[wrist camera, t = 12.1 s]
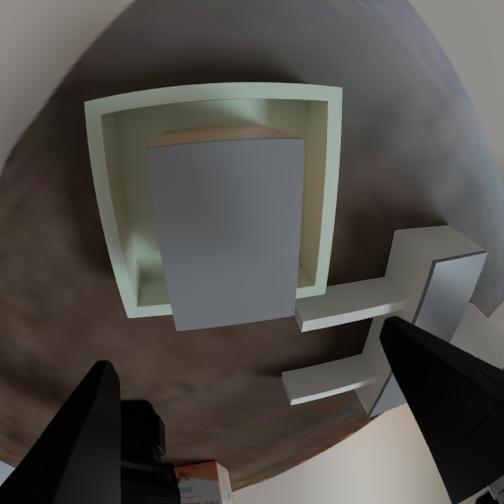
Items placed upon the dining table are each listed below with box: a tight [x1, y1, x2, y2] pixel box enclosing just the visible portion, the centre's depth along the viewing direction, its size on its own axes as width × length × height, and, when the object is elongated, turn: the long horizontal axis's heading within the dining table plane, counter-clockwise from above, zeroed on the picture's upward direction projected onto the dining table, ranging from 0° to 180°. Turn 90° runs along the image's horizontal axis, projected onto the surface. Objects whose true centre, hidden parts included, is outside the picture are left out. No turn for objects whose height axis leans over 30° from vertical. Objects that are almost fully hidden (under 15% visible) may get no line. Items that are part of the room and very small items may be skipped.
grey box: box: [146, 125, 304, 331], centre depth 14 cm, size 6×8×7 cm
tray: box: [84, 82, 342, 318], centre depth 16 cm, size 13×13×4 cm
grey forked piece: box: [282, 225, 488, 417], centre depth 24 cm, size 16×20×5 cm
